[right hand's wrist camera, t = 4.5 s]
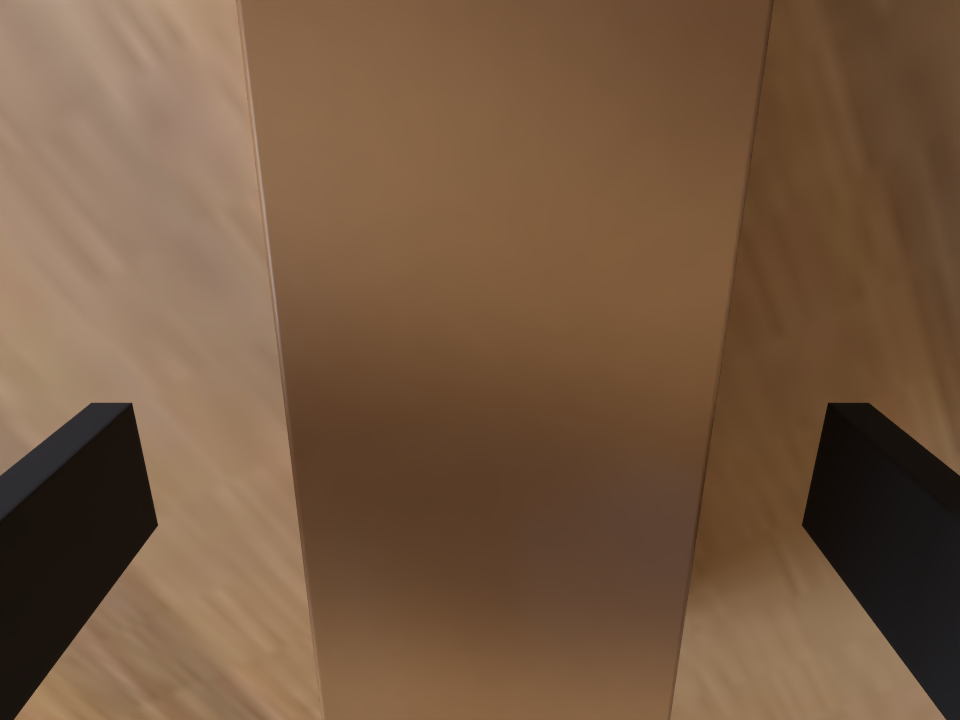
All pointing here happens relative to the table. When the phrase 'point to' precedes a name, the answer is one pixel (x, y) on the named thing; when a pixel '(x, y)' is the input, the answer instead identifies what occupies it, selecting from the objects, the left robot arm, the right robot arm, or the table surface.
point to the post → (500, 334)
